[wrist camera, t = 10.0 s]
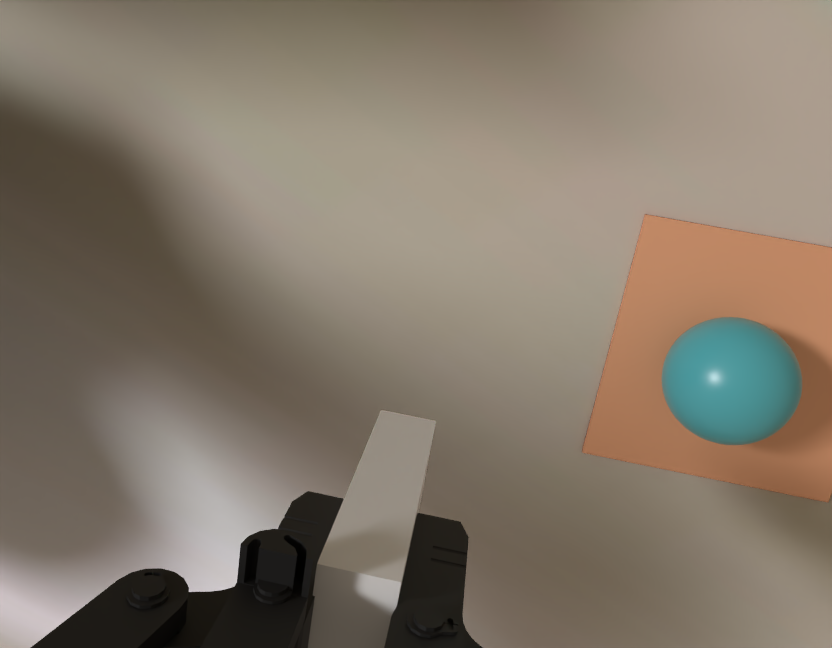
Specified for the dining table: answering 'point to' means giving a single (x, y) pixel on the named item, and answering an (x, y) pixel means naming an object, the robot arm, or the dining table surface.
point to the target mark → (700, 301)
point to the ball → (731, 381)
